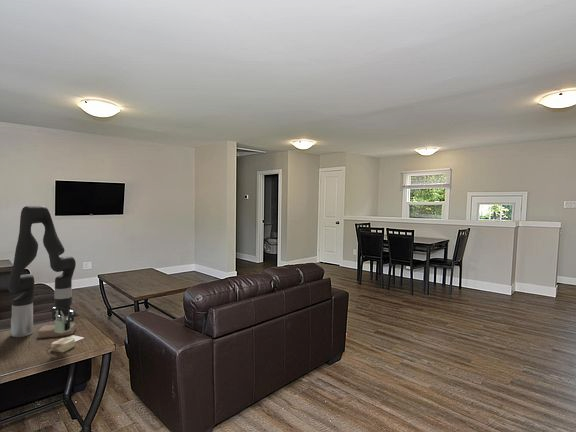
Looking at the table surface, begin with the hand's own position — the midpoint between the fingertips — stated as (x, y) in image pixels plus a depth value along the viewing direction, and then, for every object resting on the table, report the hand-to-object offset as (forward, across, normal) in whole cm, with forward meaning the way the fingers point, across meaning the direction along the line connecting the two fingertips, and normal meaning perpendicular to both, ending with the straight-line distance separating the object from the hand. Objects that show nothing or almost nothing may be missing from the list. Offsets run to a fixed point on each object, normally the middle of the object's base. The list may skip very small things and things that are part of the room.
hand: (63, 329), depth 169 cm
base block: (+10, 0, 0) cm, 10 cm away
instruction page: (+10, -6, +9) cm, 15 cm away
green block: (+1, 0, 0) cm, 1 cm away
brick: (+10, -20, +12) cm, 26 cm away
